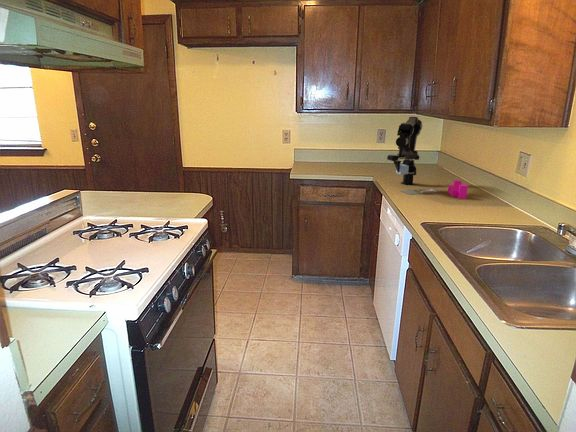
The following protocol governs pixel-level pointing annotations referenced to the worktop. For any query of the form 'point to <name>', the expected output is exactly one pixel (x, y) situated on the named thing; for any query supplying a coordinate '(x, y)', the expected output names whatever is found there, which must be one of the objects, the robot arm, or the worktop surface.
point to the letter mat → (421, 191)
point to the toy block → (458, 189)
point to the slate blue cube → (403, 169)
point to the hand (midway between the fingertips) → (402, 171)
